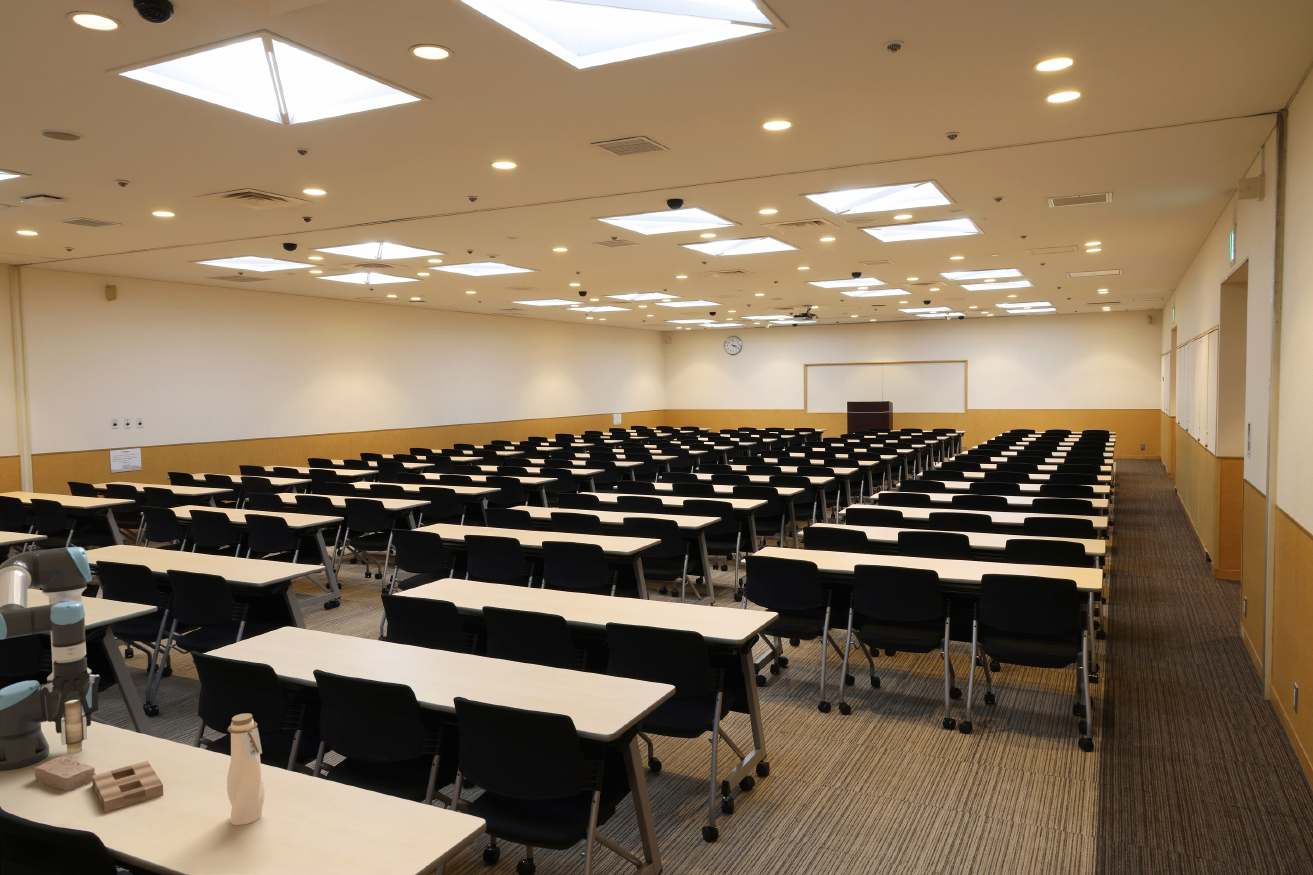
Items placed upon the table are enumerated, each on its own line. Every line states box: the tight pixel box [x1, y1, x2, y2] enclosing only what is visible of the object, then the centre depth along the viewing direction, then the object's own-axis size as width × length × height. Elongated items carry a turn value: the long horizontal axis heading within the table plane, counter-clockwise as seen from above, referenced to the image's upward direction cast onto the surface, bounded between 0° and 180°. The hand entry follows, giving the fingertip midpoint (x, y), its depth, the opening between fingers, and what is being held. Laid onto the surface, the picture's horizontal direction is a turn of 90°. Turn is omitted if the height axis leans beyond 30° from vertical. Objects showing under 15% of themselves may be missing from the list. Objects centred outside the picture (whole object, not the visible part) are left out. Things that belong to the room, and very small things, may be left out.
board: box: [92, 760, 164, 813], centre depth 237 cm, size 20×14×3 cm
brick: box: [34, 755, 97, 792], centre depth 243 cm, size 17×8×5 cm, turn 65°
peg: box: [63, 700, 85, 755], centre depth 227 cm, size 4×4×14 cm
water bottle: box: [226, 713, 265, 826], centre depth 221 cm, size 10×9×28 cm
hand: (74, 740), depth 228 cm, fingers closed on peg, 4 cm apart
